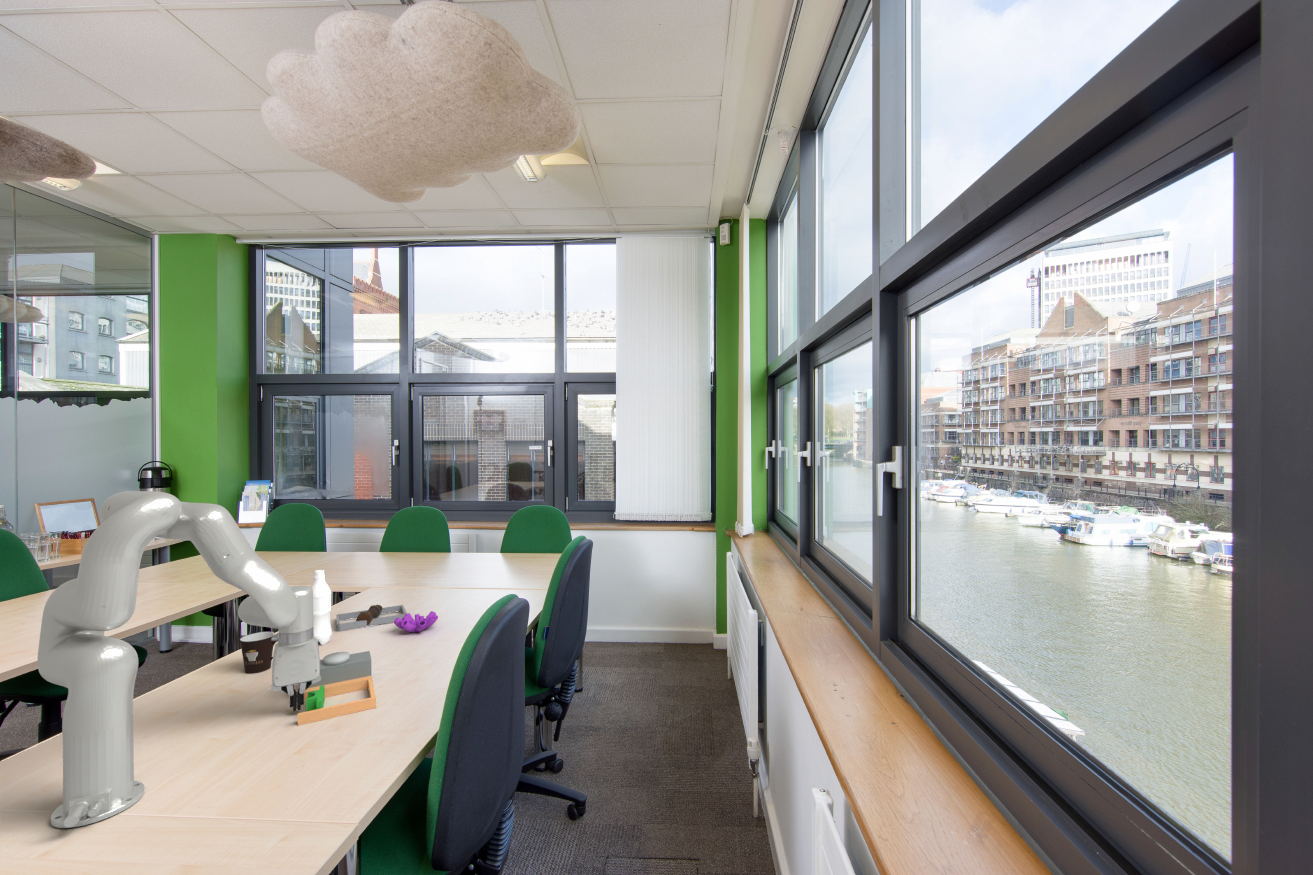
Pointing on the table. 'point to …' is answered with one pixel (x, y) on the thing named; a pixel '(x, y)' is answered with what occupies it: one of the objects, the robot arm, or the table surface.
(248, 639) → the coffee mug
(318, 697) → the pipe clamp
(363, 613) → the brown lumpy elongated piece
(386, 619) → the parts tray
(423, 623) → the purple coral
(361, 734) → the table surface
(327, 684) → the orange and grey frame
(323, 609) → the water bottle
